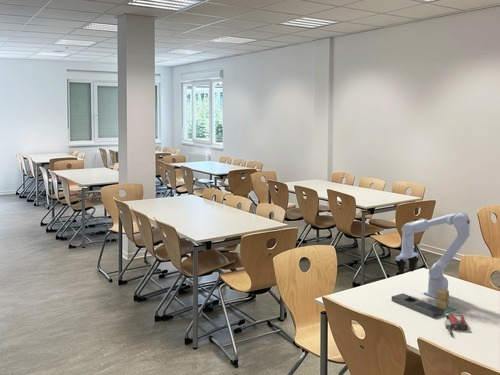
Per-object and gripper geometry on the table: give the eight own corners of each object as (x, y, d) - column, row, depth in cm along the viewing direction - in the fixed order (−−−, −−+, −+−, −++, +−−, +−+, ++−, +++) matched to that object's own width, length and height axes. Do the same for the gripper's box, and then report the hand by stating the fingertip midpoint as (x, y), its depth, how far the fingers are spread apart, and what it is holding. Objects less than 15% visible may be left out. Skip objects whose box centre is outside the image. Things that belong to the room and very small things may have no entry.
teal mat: (440, 303, 234) (440, 302, 234) (456, 309, 227) (456, 308, 227) (427, 306, 230) (427, 306, 230) (444, 313, 222) (444, 312, 222)
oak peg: (439, 305, 231) (440, 288, 230) (447, 307, 228) (448, 290, 227) (436, 307, 228) (437, 291, 227) (444, 309, 225) (445, 293, 224)
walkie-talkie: (441, 318, 218) (448, 337, 199) (441, 308, 217) (449, 327, 198) (462, 320, 216) (471, 339, 197) (462, 310, 215) (472, 329, 196)
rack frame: (402, 297, 242) (403, 293, 241) (444, 314, 221) (444, 309, 221) (391, 300, 237) (391, 296, 237) (432, 317, 217) (433, 312, 217)
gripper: (410, 242, 257) (409, 267, 258) (391, 246, 249) (390, 272, 251) (421, 245, 251) (420, 271, 253) (402, 249, 243) (401, 276, 245)
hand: (406, 272), depth 251 cm, fingers open, 7 cm apart
